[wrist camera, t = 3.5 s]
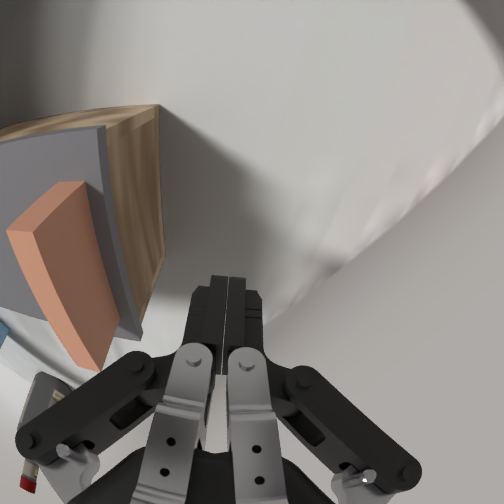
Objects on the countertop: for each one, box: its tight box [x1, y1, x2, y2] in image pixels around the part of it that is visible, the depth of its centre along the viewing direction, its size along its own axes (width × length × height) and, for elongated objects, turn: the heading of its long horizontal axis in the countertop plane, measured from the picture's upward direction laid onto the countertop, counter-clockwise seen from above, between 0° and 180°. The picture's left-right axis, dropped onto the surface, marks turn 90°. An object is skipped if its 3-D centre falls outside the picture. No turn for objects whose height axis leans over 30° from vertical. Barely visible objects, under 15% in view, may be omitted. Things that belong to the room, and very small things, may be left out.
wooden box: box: [0, 104, 166, 324], centre depth 16 cm, size 24×13×8 cm, turn 84°
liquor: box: [17, 372, 72, 493], centre depth 35 cm, size 9×9×30 cm
